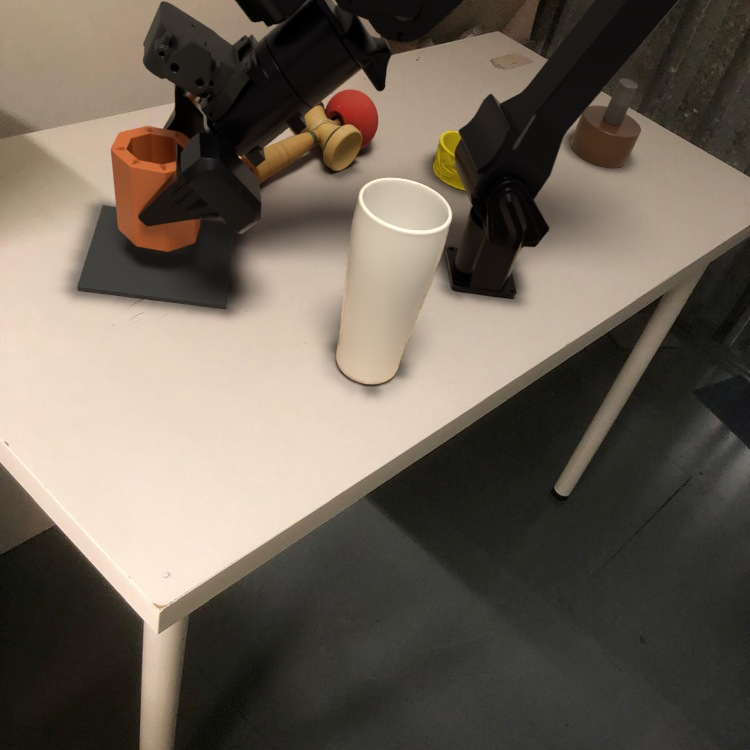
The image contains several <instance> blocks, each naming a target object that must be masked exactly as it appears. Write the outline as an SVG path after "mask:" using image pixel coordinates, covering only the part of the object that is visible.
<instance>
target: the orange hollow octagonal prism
mask: <svg viewBox="0 0 750 750" xmlns="http://www.w3.org/2000/svg"><path fill="white" fill-rule="evenodd" d="M189 140H190V139H189V138H188V137H186V136H185V135H184V134H183V133H181V132H177V131H172V130H167V129H163V127H162V128H161V127H156V126H151V125H144V126H140V127H137V128H132V129H128V130H123V131H119V132H118V134H116V138H115V139H114V141H113V143H112V145H111V147H110V156H111V168H112V178H113V186H114V187H113V188H114V189H113V190H114V197H115V199H114V200H115V207H116V211H117V222H118V229H119V230H120V231H121V232H122V233H123V234H124V235H125V236H126V237H127V238H128V239H129V240H130V241H131V242H132V243H133V244H134V245H136V246H138V247H143V248H149V249H155V250H160V251H166V252H168V251H169V252H170V251H172V250H175V249H178V248H181V247H184V246H187V245H190V244H193V243H195V242H196V238H197V235H198V232H199V228H200V219H194V220H186V221H180V222H174V223H167V224H161V225H154V226H146V225H145V224H144V223H142V222H141V221H140V220H139V219H138V214H139V212H140V211H141V210H142V209H143V207H144V206H145V205H146V204H147V202H148V201H149V200H150V199H151V198H152V197H153V195H154V194H155V193H156V192H157V191H158V190H159V189H160V187H161V186H162V185H163V184H164V183H165V182H166V181H167V179H168V178H169V177H170V176H171V175H172V174H173V173H174V171H175V170H176V144H177V143H178V144H179V145H180V146H181V147H182V148H183V149H184V148H185V146H186V144H187V143H188V141H189Z"/></svg>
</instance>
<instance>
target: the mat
mask: <svg viewBox="0 0 750 750" xmlns="http://www.w3.org/2000/svg"><path fill="white" fill-rule="evenodd" d="M235 233H236V231H235V230H234V229H233V228H232V227H231V226H230V225H229V224H228V223H227V222H221V221H216V220H208V219H200V228H199V232H198V235H197V238H196V242H195V243H193V244H190V245H187V246H184V247H181V248H178V249H175V250H172V251H170V252H169V251H168V252H166V251H160V250H155V249H149V248H143V247H138V246H136V245H134V244H133V243H132V242H131V241H130V240H129V239H128V238H127V237H126V236H125V235H124V234H123V233H122V232H121V231H120V230H119V229H118V222H117V211H116V206H111V205H107V204H106V205H105V204H103V205H102V206H101V210H100V213H99V216H98V219H97V222H96V225H95V229H94V232H93V235H92V238H91V240H90V245H89V248H88V251H87V254H86V258H85V260H84V264H83V266H82V270H81V273H80V276H79V280H78V282H77V286H76V289H77V291H81V292H88V293H94V294H95V293H96V294H102V295H103V294H104V295H112V296H119V297H127V298H133V299H143V300H152V301H160V302H168V303H175V304H184V305H191V306H199V307H207V308H214V309H215V308H216V309H223V310H225V309H226V308H227V301H228V300H227V299H228V291H229V283H230V275H231V267H232V258H233V250H234V242H235V241H234V240H235Z"/></svg>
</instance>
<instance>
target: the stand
mask: <svg viewBox="0 0 750 750" xmlns="http://www.w3.org/2000/svg"><path fill="white" fill-rule="evenodd" d="M638 89H639V85H638V83H636V82H635V81H633V80H631V79H629V78H620V79H618V82H617V84H616V86H615V89H614V91H613V93H612V95H611V98H610V100H609V102H608V105H607V106H605V105H589V106H588V108H587V109H586V110H585V111H584V112H583V113H582V115H581V116H580V117H579V118H578V121H577V124H576V127H575V129H574V132H573V135H572V137H571V139H570V144H569V146H570V147H571V149H572V151H573V152H574V153H575V154H576V155H577V157H579V158H581V159H582V160H584V161H586V162H588V163H590V164H593V165H596V166H598V167H603V168H608V169H609V168H610V169H617V168H622V167H623V166H625V165H626V164H627V162H628V161H629V158H630V156H631V154H632V151H633V149H634V148H635V145H636V143H637V141H638V139H639V138H640V135H641V133H642V128H641V125H640V124H639V123H638V122H637V121H636V120H635V118H633V117H632V116H630V115H629V114H627V113H628V110H629V108H630V105H631V104H632V101H633V99H634V97H635V95H636V93H637V90H638Z"/></svg>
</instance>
